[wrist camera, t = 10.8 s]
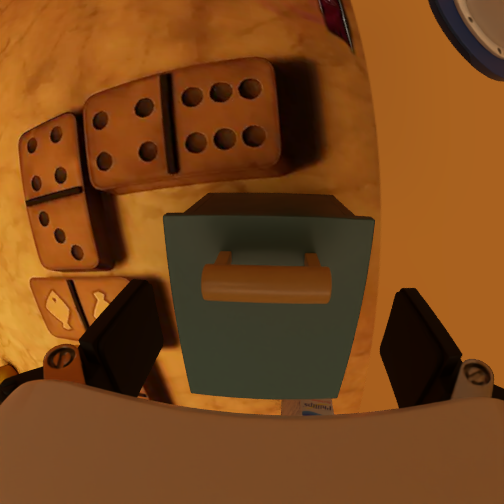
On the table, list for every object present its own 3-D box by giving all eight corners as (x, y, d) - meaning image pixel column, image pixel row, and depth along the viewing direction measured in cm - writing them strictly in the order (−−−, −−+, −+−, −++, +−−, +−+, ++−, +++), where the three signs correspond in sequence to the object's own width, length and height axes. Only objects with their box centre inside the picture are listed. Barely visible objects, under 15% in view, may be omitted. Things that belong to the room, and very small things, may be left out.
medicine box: (307, 404, 39) (310, 449, 31) (280, 400, 39) (279, 446, 31) (327, 371, 36) (336, 420, 28) (298, 366, 36) (301, 416, 28)
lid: (166, 212, 17) (129, 238, 12) (371, 216, 16) (405, 244, 11) (192, 386, 23) (178, 431, 18) (336, 391, 22) (344, 438, 17)
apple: (8, 357, 45) (-9, 375, 38) (24, 376, 47) (9, 396, 40) (3, 362, 47) (-12, 379, 39) (19, 380, 49) (4, 398, 41)
